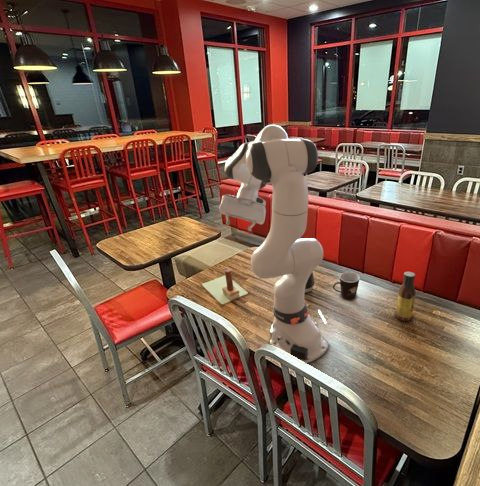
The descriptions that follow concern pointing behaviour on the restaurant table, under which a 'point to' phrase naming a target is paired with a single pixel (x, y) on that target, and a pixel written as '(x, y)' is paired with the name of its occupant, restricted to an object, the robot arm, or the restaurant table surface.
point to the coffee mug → (348, 285)
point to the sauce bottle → (406, 298)
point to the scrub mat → (216, 289)
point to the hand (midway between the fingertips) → (238, 227)
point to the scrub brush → (230, 286)
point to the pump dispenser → (309, 283)
